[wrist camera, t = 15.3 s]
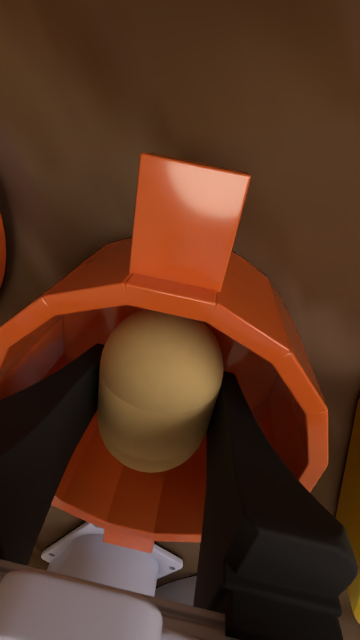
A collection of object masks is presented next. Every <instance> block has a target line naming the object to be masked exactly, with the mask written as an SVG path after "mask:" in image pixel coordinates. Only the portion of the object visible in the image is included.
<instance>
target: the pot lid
mask: <svg viewBox="0 0 360 640" xmlns="http://www.w3.org/2000/svg"><path fill="white" fill-rule="evenodd" d="M5 264H6V240H5V232H4V226H3V220H2V215H1V212H0V288H1V285H2V281H3V277H4V273H5Z"/></svg>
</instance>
